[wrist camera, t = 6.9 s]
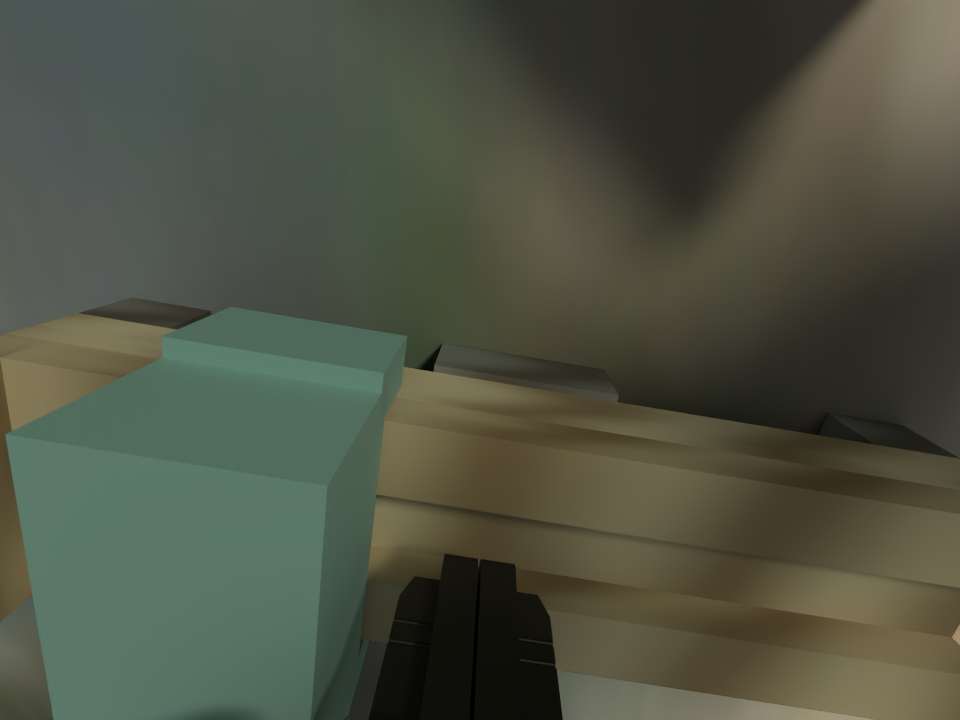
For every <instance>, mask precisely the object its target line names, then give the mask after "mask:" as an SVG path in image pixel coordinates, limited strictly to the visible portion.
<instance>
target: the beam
mask: <svg viewBox="0 0 960 720" xmlns="http://www.w3.org/2000/svg"><path fill="white" fill-rule="evenodd" d="M208 316H210V311H207V310H201V309H195V308H189V307H183V306H177V305H171V304H165V303H159V302H153V301H147V300H140V299H134V298H130V299H126V300H123V301H119V302H116V303H112V304H109V305H105V306H102V307H98V308H95V309H91V310H88V311H84V312H81V313H77V314H74V315H70V316H67V317H63V318H60V319H56V320H53V321H49V322H46V323H42V324H39V325H35V326H32V327H28V328H25V329H21V330H18V331H14V332H11V333H7V334H4V335H0V622H1V621H2V620H3V619H4V618H5V617H6V616H8V615H9V614H10V613H11V612H12V611H13V610H15V609H16V608H17V607H18V606H19V605H20V604H22V603H23V602H24V601H25V600H26V599H27V598H29V597H30V596H31V595H32V590H31V584H30V578H29V572H28V566H27V560H26V554H25V548H24V542H23V537H22V531H21V525H20V519H19V513H18V507H17V501H16V495H15V489H14V483H13V478H12V472H11V466H10V460H9V454H8V448H7V442H6V436H5V434H7V433H9V432H11V431H13V430H15V429H17V428H19V427H21V426H23V425H25V424H28V423H30V422H32V421H34V420H36V419H38V418H40V417H42V416H44V415H46V414H48V413H50V412H52V411H54V410H56V409H58V408H60V407H62V406H64V405H66V404H68V403H70V402H72V401H75V400H77V399H79V398H81V397H83V396H85V395H87V394H89V393H91V392H93V391H95V390H97V389H99V388H101V387H103V386H105V385H107V384H109V383H111V382H113V381H115V380H117V379H119V378H122V377H124V376H126V375H128V374H130V373H132V372H134V371H136V370H138V369H140V368H142V367H144V366H146V365H148V364H150V363H152V362H154V361H156V360H158V359H160V358H162V339H161V336H164V335H166V334H168V333H171V332H173V331H175V330H178V329H180V328H182V327H185V326H187V325H189V324H192V323H194V322H197V321H199V320H201V319H204V318H206V317H208ZM618 398H619V394H618V393H617V391H616V389H615V388H614V386H613V384H612V382H611V381H610V379H609V377H608V376H607V374H606V372H605V371H604V370H601V369H595V368H589V367H583V366H577V365H571V364H565V363H559V362H553V361H547V360H541V359H535V358H529V357H523V356H517V355H511V354H505V353H499V352H493V351H487V350H481V349H475V348H468V347H462V346H456V345H450V344H444V343H443V344H442V346H441V349H440V352H439V354H438V357H437V360H436V362H435V365H434V372H431V371H425V370H419V369H413V368H407V367H404V369H403V377H402V385H401V387H400V389H399V391H398V393H397V395H396V397H395V399H394V401H393V403H392V405H391V407H390V409H389V411H388V413H387V415H386V417H385V420H384V429H383V438H382V447H381V456H380V465H379V475H378V484H377V493H376V494H377V495H376V504H375V513H374V522H373V532H372V541H371V548H370V557H369V566H368V575H367V584H366V594H365V603H364V612H363V621H362V630H361V640H367V641H374V642H380V643H387V644H388V640H389V635H390V631H391V627H392V623H393V620H394V615H395V611H396V607H397V603H398V599H399V595H400V593H401V592H402V591H403V590H404V589H405V587H406V586H407V585H408V584H409V583H410V581H411V580H412V579H413V578H414V576H417V577H424V578H430V579H437V580H440V577H441V571H442V565H443V559H444V553H446V554H452V555H459V556H465V557H472V558H478V567H479V562H480V559H486V560H492V561H498V562H505V563H511V564H515V567H516V585H517V592H522V593H529V594H535V595H538V596H539V598H540V600H541V602H542V603H543V605H544V607H545V609H546V611H547V612H548V614H549V616H550V619H551V627H552V636H553V647H554V652H555V661H556V664H555V668H556V669H557V670H561V671H567V672H574V673H580V674H586V675H593V676H599V677H606V678H612V679H619V680H625V681H632V682H638V683H644V684H651V685H657V686H664V687H670V688H677V689H683V690H690V691H696V692H702V693H709V694H715V695H722V696H728V697H735V698H741V699H748V700H754V701H760V702H767V703H773V704H780V705H786V706H793V707H799V708H806V709H812V710H818V711H825V712H831V713H838V714H844V715H851V716H857V717H864V718H870V719H876V720H960V645H959V644H958V643H957V642H956V641H955V640H954V639H953V638H952V636H953V634H954V633H955V631H956V629H957V628H958V626H959V624H960V458H958V457H956V456H955V455H953V454H951V453H949V452H948V451H946V450H944V449H942V448H941V447H939V446H937V445H936V444H934V443H932V442H930V441H929V440H927V439H925V438H923V437H922V436H920V435H918V434H916V433H915V432H913V431H911V430H910V429H908V428H906V427H904V426H901V425H895V424H889V423H883V422H877V421H871V420H865V419H859V418H853V417H847V416H841V415H835V414H829V413H828V414H827V416H826V419H825V421H824V423H823V426H822V428H821V430H820V433H819V435H813V434H807V433H801V432H795V431H789V430H783V429H777V428H771V427H765V426H759V425H753V424H747V423H741V422H735V421H729V420H722V419H716V418H710V417H704V416H698V415H692V414H686V413H680V412H674V411H668V410H662V409H656V408H650V407H644V406H638V405H631V404H625V403H619V402H617V401H618Z"/></svg>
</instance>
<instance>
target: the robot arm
mask: <svg viewBox="0 0 960 720" xmlns="http://www.w3.org/2000/svg"><path fill="white" fill-rule="evenodd" d="M555 664H556V661H555V652H554V647H553V636H552V627H551V619H550V616H549V614H548V612H547V611H546V609H545V607H544V605H543V603H542V602H541V600H540V598H539V596H538V595H535V594H529V593H522V592H517V585H516V567H515V564H511V563H505V562H498V561H492V560H486V559H480V562H479V567H478V558H472V557H465V556H459V555H452V554H446V553H444V559H443V565H442V571H441V577H440V580H437V579H430V578H424V577H417V576H414V578H413V579H412V580H411V581H410V583H409V584H408V585H407V586H406V587H405V589H404V590H403V591H402V592H401V593H400V595H399V599H398V603H397V607H396V611H395V615H394V620H393V623H392V627H391V631H390V635H389V640H388V644H387V648H386V652H385V656H384V660H383V664H382V668H381V672H380V676H379V680H378V684H377V688H376V692H375V696H374V700H373V704H372V708H371V712H370V716H369V720H563V718H562V710H561V702H560V694H559V685H558V677H557V669H556V668H555Z"/></svg>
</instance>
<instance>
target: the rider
mask: <svg viewBox="0 0 960 720" xmlns="http://www.w3.org/2000/svg"><path fill="white" fill-rule="evenodd" d="M161 339H162V358H160V359H158V360H156V361H154V362H152V363H150V364H148V365H146V366H144V367H142V368H140V369H138V370H136V371H134V372H132V373H130V374H128V375H126V376H124V377H122V378H119V379H117V380H115V381H113V382H111V383H109V384H107V385H105V386H103V387H101V388H99V389H97V390H95V391H93V392H91V393H89V394H87V395H85V396H83V397H81V398H79V399H77V400H75V401H72V402H70V403H68V404H66V405H64V406H62V407H60V408H58V409H56V410H54V411H52V412H50V413H48V414H46V415H44V416H42V417H40V418H38V419H36V420H34V421H32V422H30V423H28V424H25V425H23V426H21V427H19V428H17V429H15V430H13V431H11V432H9V433H7V434H5V436H6V442H7V448H8V454H9V460H10V466H11V472H12V478H13V483H14V489H15V495H16V501H17V507H18V513H19V519H20V525H21V531H22V537H23V542H24V548H25V554H26V560H27V566H28V572H29V578H30V584H31V590H32V596H33V601H34V607H35V613H36V619H37V625H38V631H39V637H40V643H41V649H42V655H43V661H44V666H45V672H46V678H47V684H48V690H49V696H50V702H51V708H52V714H53V720H345V717H348V714H349V710H350V707H351V704H352V700H353V697H354V693H355V690H356V686H357V683H358V679H359V676H360V672H361V669H362V666H363V662H364V659H365V655H366V652H367V648H368V645H369V641H367V640H361V630H362V621H363V612H364V603H365V594H366V584H367V575H368V566H369V557H370V548H371V541H372V532H373V522H374V513H375V504H376V495H377V494H376V493H377V484H378V475H379V465H380V456H381V447H382V438H383V429H384V420H385V417H386V415H387V413H388V411H389V409H390V407H391V405H392V403H393V401H394V399H395V397H396V395H397V393H398V391H399V389H400V387H401V385H402V377H403V369H404V360H405V352H406V344H407V336H403V335H397V334H391V333H385V332H379V331H373V330H367V329H361V328H355V327H349V326H343V325H337V324H331V323H325V322H319V321H313V320H307V319H300V318H294V317H288V316H282V315H276V314H270V313H264V312H258V311H252V310H246V309H240V308H234V307H229V308H227V309H225V310H222V311H220V312H218V313H215V314H213V315H211V316H208V317H206V318H204V319H201V320H199V321H197V322H194V323H192V324H189V325H187V326H185V327H182V328H180V329H178V330H175V331H173V332H171V333H168V334H166V335H164V336H161Z"/></svg>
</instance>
